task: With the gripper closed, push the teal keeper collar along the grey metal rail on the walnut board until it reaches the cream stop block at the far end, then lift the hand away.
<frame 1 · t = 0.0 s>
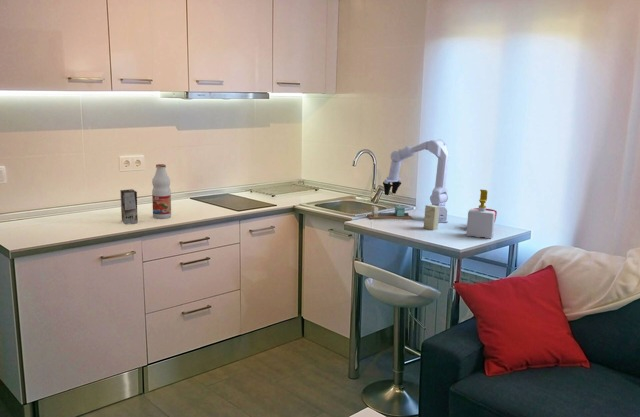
hand: (389, 194, 339), 11 cm above the countertop, tool pointing down, fingers open, 7 cm apart
keeper: (399, 211, 326), point 4 cm above the countertop, slide at 0.0 cm
soap bottle: (479, 236, 288), on the countertop
rail board: (388, 217, 326), on the countertop
skincare box: (430, 229, 301), on the countertop
coffee box: (129, 222, 297), on the countertop
fruit juice: (162, 217, 310), on the countertop
ceramic cup: (480, 228, 305), on the countertop
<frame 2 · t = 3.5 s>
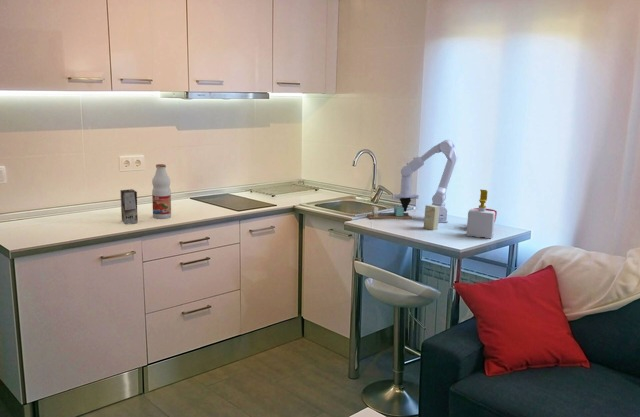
hand: (404, 211, 327), 3 cm above the countertop, tool pointing down, fingers closed
keeper: (398, 211, 326), point 4 cm above the countertop, slide at 0.5 cm, touching gripper
everything else where it was.
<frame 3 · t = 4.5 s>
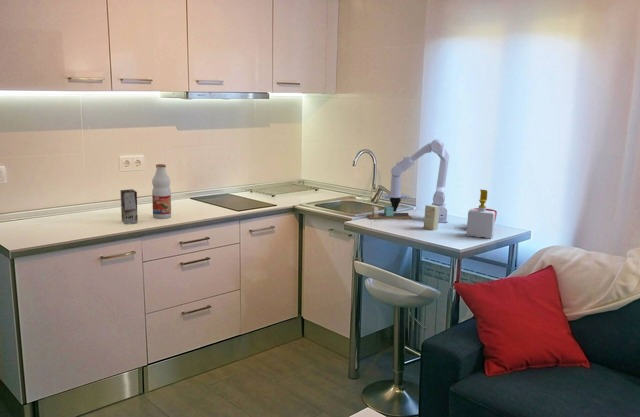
hand: (394, 211, 326), 3 cm above the countertop, tool pointing down, fingers closed
keeper: (388, 211, 325), point 4 cm above the countertop, slide at 6.4 cm, touching gripper
everything else where it was.
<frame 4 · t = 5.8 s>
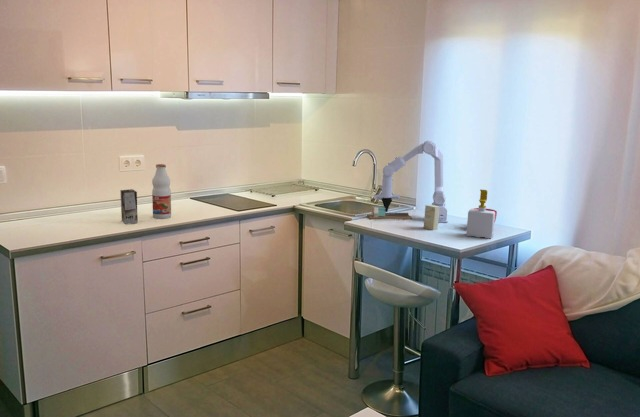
hand: (386, 211, 325), 3 cm above the countertop, tool pointing down, fingers closed
keeper: (380, 211, 324), point 4 cm above the countertop, slide at 11.1 cm, touching gripper
everything else where it was.
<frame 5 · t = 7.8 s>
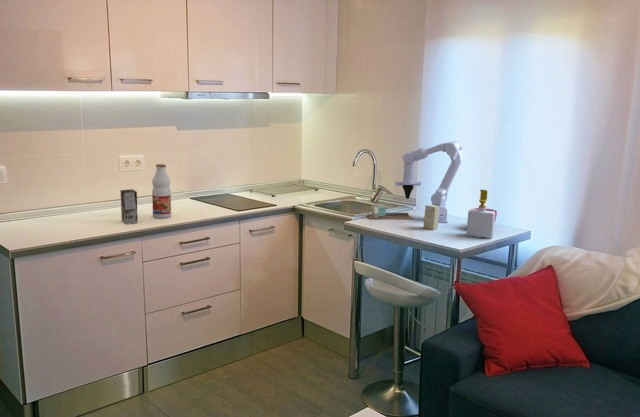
hand: (407, 198, 329), 10 cm above the countertop, tool pointing down, fingers closed
keeper: (380, 211, 324), point 4 cm above the countertop, slide at 11.0 cm
everything else where it was.
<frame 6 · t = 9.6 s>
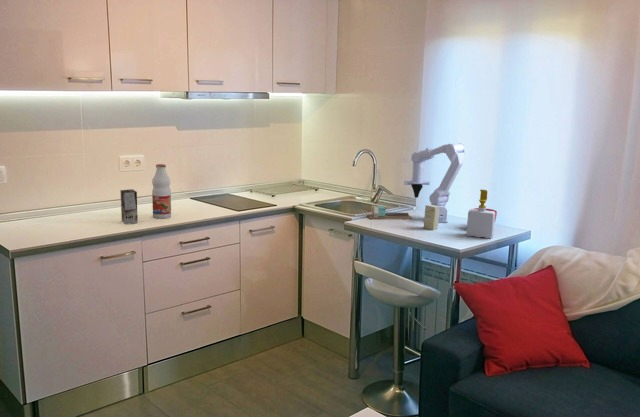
hand: (416, 197, 332), 10 cm above the countertop, tool pointing down, fingers closed
nothing on the countertop moved.
at the end: keeper slide at 11.0 cm; the gripper is holding nothing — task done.
